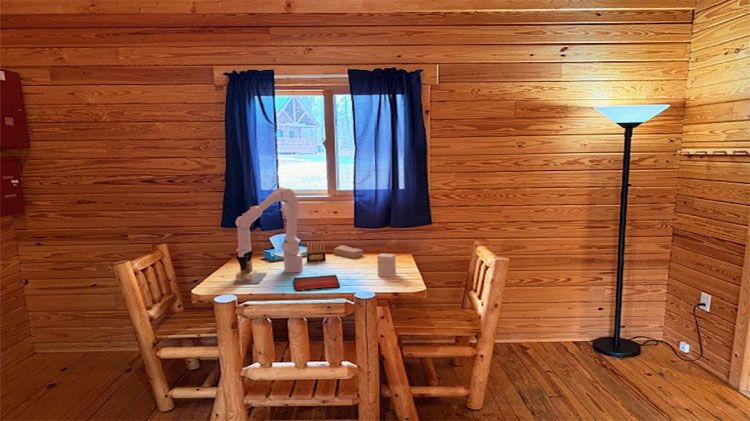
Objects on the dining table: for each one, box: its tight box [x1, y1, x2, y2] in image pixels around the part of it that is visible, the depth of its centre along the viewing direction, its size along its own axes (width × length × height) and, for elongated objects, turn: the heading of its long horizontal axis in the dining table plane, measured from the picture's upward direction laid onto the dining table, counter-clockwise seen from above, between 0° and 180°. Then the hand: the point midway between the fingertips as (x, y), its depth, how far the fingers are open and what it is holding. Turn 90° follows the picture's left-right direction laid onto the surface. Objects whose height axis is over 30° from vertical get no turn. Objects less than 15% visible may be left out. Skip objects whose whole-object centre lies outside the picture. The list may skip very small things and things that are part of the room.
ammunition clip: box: [306, 239, 327, 263], centre depth 238 cm, size 11×2×12 cm, turn 105°
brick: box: [333, 245, 364, 260], centre depth 250 cm, size 17×8×5 cm, turn 53°
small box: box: [377, 253, 397, 278], centre depth 210 cm, size 8×6×10 cm
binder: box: [293, 274, 341, 292], centre depth 198 cm, size 16×2×21 cm
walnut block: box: [239, 260, 253, 274], centre depth 207 cm, size 4×4×5 cm
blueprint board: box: [232, 269, 268, 285], centre depth 207 cm, size 12×16×4 cm
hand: (245, 267), depth 207 cm, fingers open, 7 cm apart
